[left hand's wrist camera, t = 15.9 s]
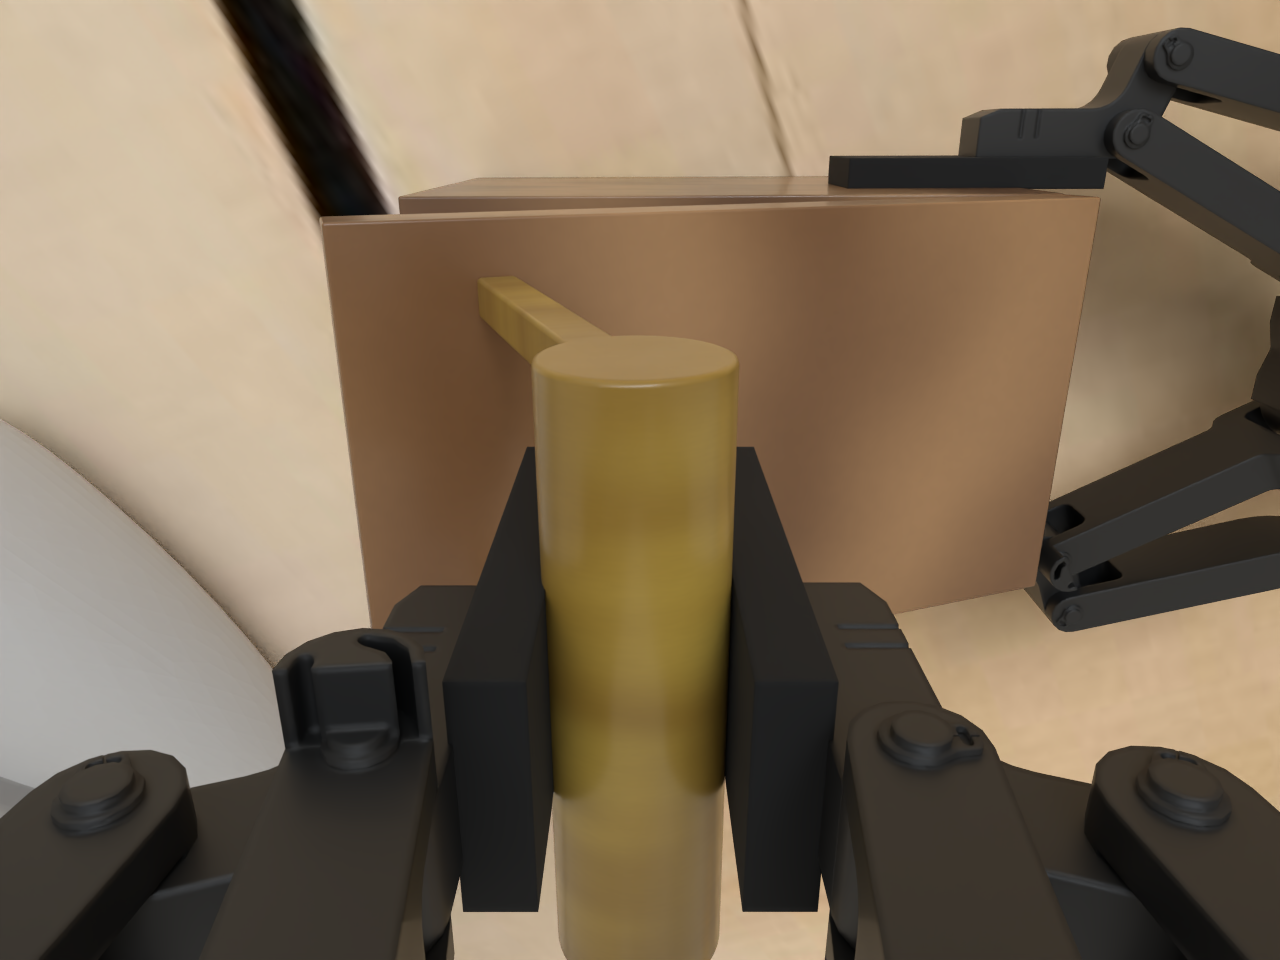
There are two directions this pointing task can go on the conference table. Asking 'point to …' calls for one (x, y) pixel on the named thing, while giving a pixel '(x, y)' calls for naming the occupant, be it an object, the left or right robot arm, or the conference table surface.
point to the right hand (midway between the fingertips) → (825, 356)
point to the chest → (657, 193)
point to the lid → (697, 460)
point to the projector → (112, 641)
